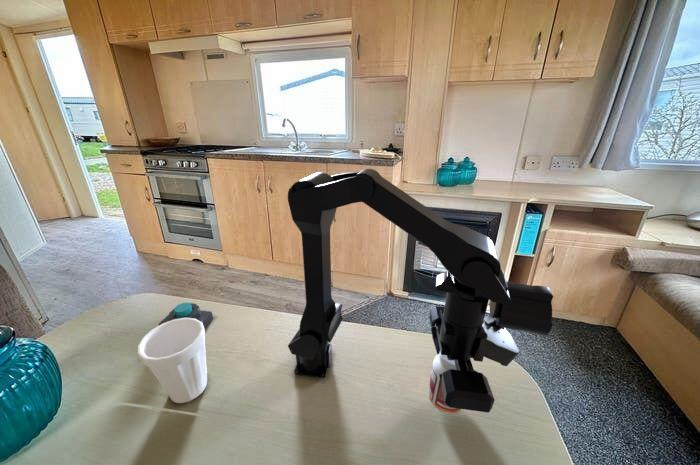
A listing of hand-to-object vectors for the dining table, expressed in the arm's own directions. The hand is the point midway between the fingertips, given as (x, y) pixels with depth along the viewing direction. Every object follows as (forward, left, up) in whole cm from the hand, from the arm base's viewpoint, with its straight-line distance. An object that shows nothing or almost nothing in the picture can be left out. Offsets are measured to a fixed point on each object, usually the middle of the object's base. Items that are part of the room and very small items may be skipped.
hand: (448, 385), depth 49 cm
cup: (-48, -4, -5) cm, 48 cm away
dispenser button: (-60, +12, -1) cm, 61 cm away
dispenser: (-60, +12, -5) cm, 61 cm away
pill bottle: (0, 0, -4) cm, 4 cm away
